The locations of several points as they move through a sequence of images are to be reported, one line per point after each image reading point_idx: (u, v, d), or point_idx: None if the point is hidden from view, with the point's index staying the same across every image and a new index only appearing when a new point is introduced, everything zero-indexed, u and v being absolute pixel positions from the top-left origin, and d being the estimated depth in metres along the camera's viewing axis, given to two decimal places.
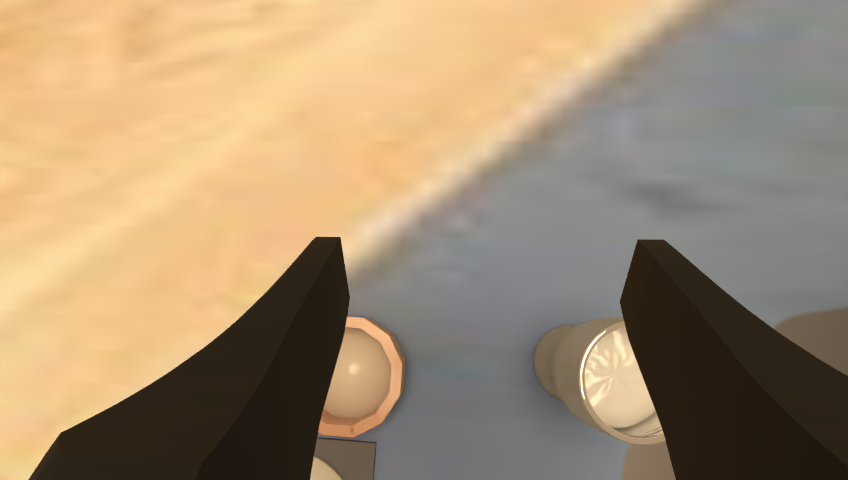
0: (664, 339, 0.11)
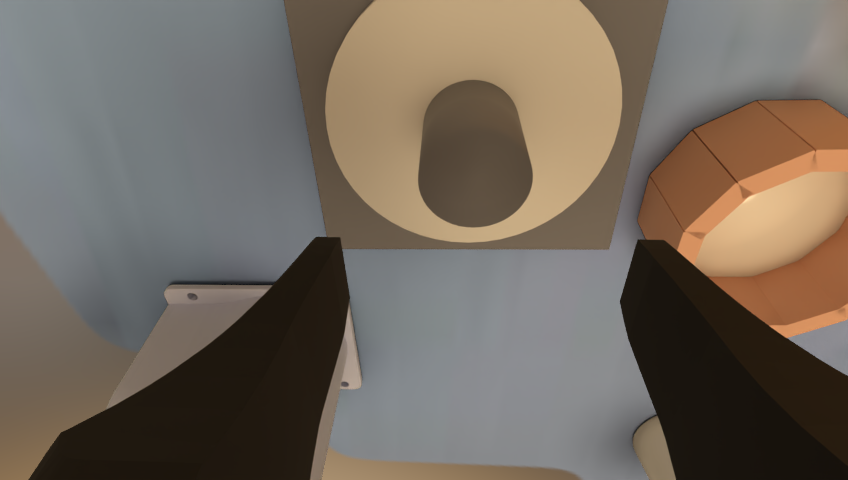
0: (664, 339, 0.11)
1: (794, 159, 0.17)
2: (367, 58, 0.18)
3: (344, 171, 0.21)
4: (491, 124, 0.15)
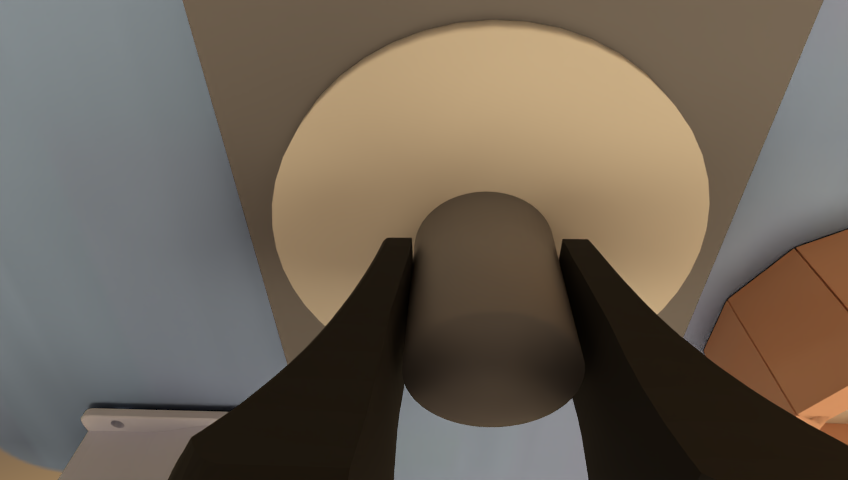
0: (580, 337, 0.11)
1: None
2: (330, 161, 0.12)
3: (304, 299, 0.15)
4: (520, 299, 0.09)
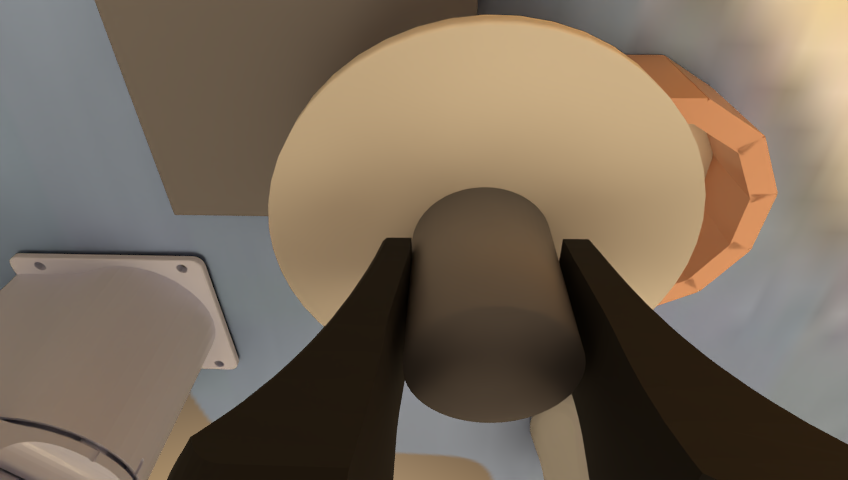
0: (580, 337, 0.11)
1: None
2: (325, 160, 0.12)
3: (303, 300, 0.15)
4: (519, 293, 0.09)
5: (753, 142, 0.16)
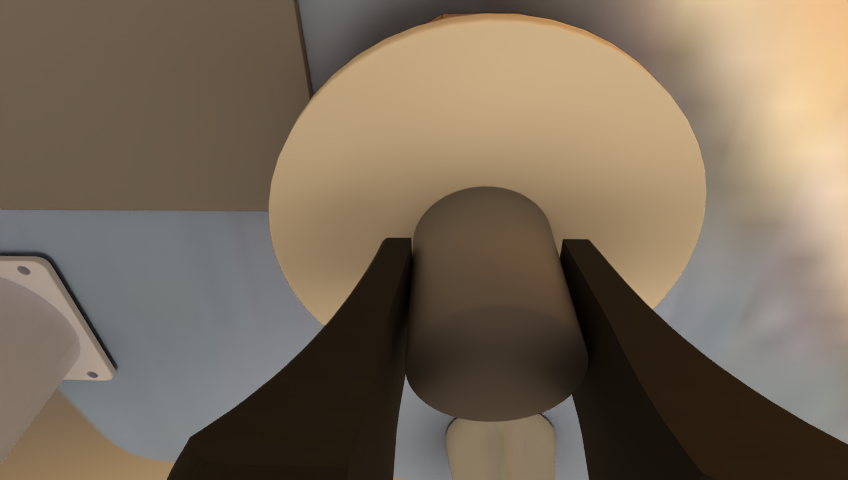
0: None
1: None
2: (326, 160, 0.12)
3: (304, 301, 0.15)
4: (521, 292, 0.09)
5: None
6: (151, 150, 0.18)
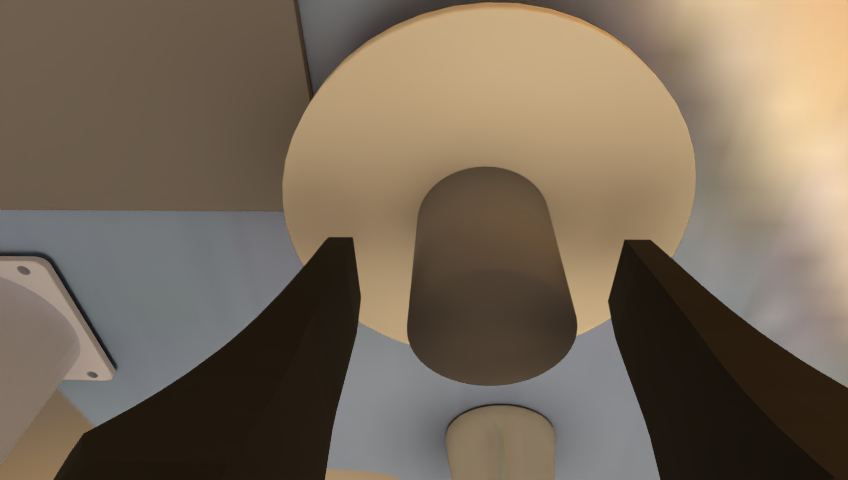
0: (649, 339, 0.11)
1: None
2: (336, 140, 0.13)
3: None
4: (515, 258, 0.10)
5: None
6: (151, 150, 0.18)
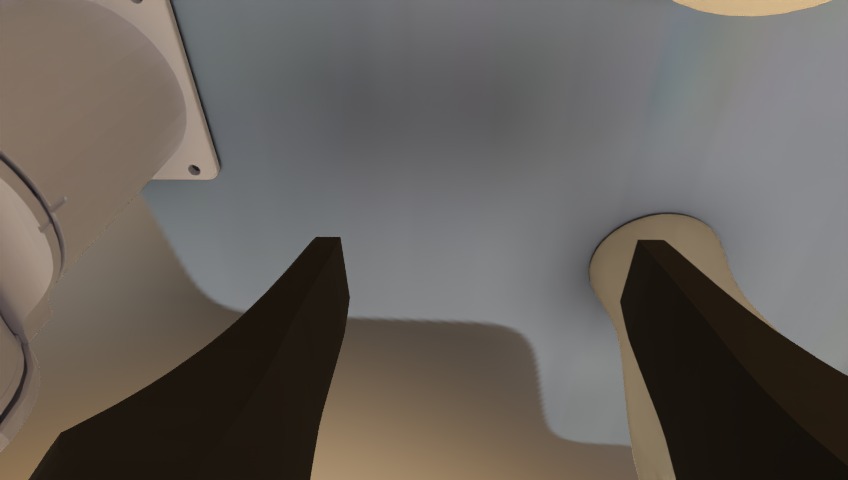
0: (664, 339, 0.11)
1: None
2: None
3: None
4: None
5: None
6: None
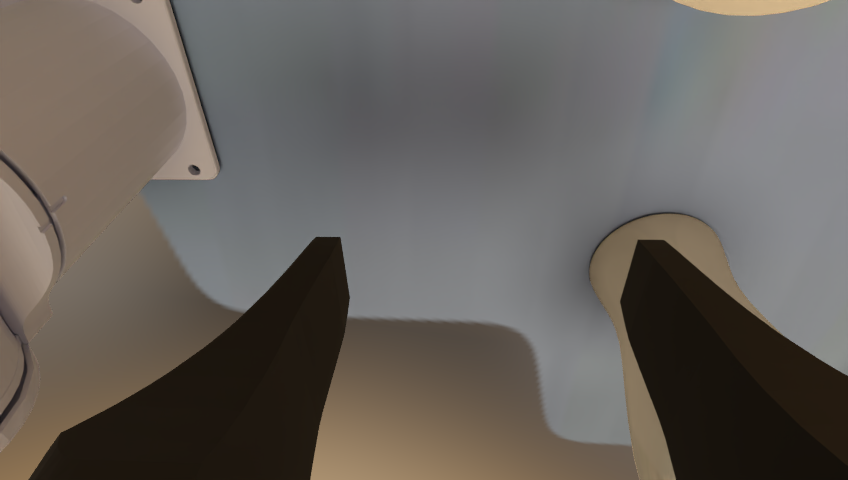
0: (664, 339, 0.11)
1: None
2: None
3: None
4: None
5: None
6: None
